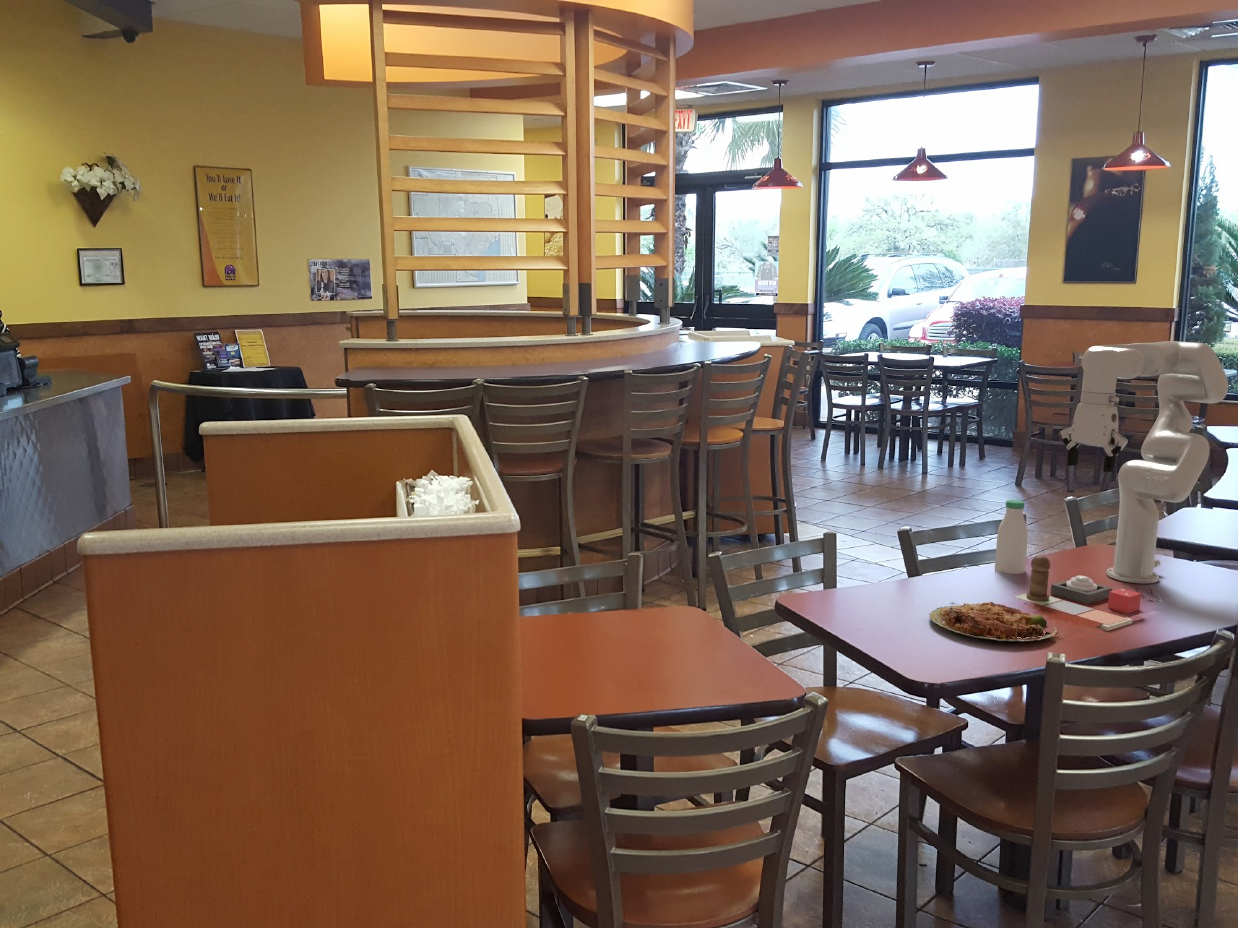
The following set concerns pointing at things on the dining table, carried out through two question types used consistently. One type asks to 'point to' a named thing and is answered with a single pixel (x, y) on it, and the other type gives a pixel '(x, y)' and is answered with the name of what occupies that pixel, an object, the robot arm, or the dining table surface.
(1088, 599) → the dome housing
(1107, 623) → the board
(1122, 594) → the die
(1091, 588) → the dome
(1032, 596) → the wooden pepper mill
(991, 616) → the rice dish
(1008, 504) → the milk bottle
